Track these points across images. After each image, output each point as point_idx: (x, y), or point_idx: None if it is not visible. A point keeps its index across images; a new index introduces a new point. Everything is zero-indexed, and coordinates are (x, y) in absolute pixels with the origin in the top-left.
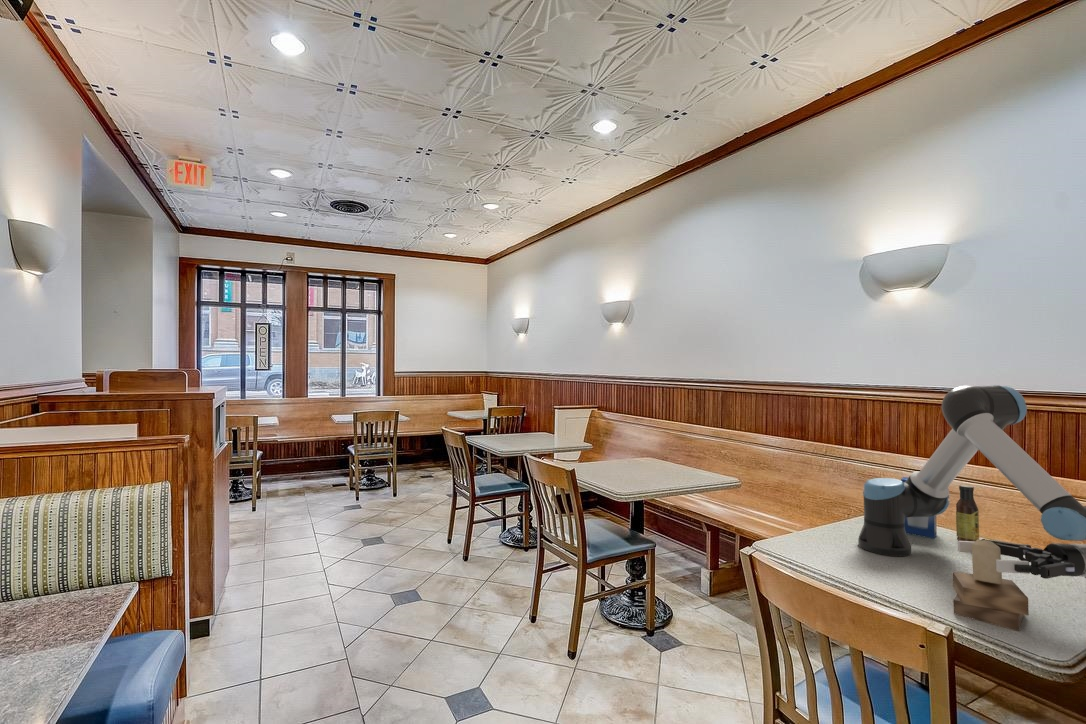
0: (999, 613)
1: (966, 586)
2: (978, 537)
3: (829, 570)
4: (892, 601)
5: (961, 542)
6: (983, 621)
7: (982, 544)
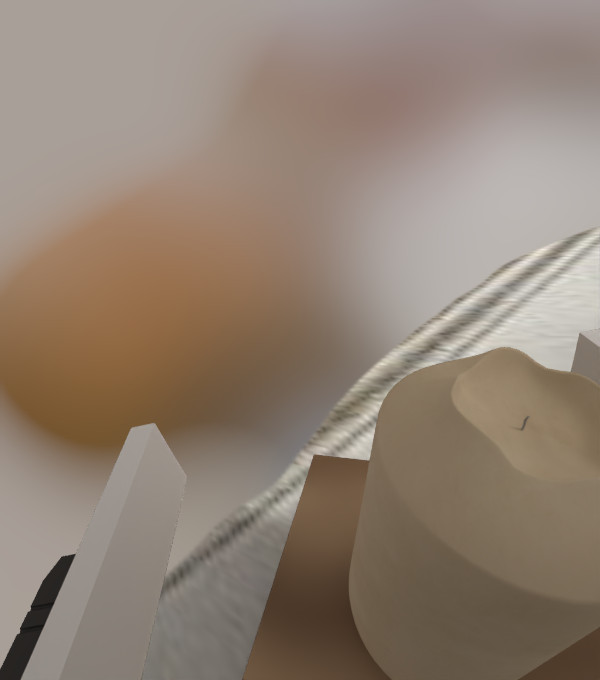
0: None
1: (328, 469)
2: None
3: (560, 299)
4: (394, 385)
5: (589, 346)
6: None
7: (410, 381)
